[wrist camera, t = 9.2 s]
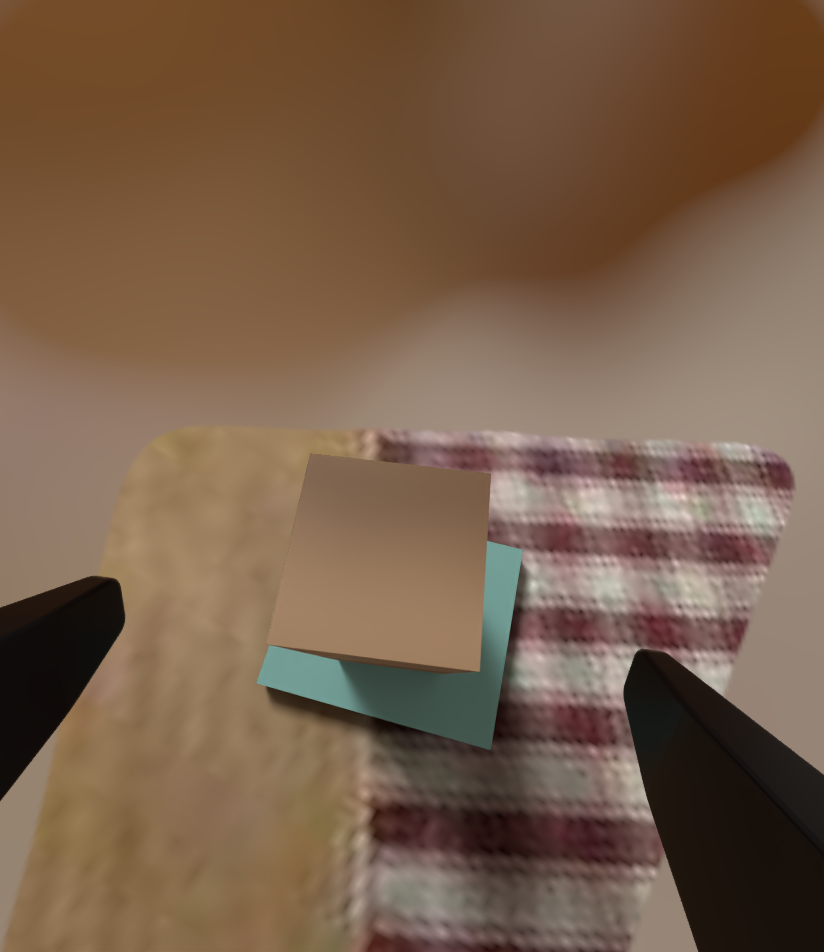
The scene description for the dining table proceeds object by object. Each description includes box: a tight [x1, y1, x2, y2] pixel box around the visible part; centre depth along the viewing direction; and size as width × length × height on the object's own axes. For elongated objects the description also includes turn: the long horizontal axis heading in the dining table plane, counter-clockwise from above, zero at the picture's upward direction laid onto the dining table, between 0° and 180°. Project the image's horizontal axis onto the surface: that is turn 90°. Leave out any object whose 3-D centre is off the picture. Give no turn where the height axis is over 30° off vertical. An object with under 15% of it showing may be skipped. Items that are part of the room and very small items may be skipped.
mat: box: [257, 541, 523, 750], centre depth 19 cm, size 8×9×1 cm
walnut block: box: [266, 453, 491, 674], centre depth 14 cm, size 4×4×10 cm
